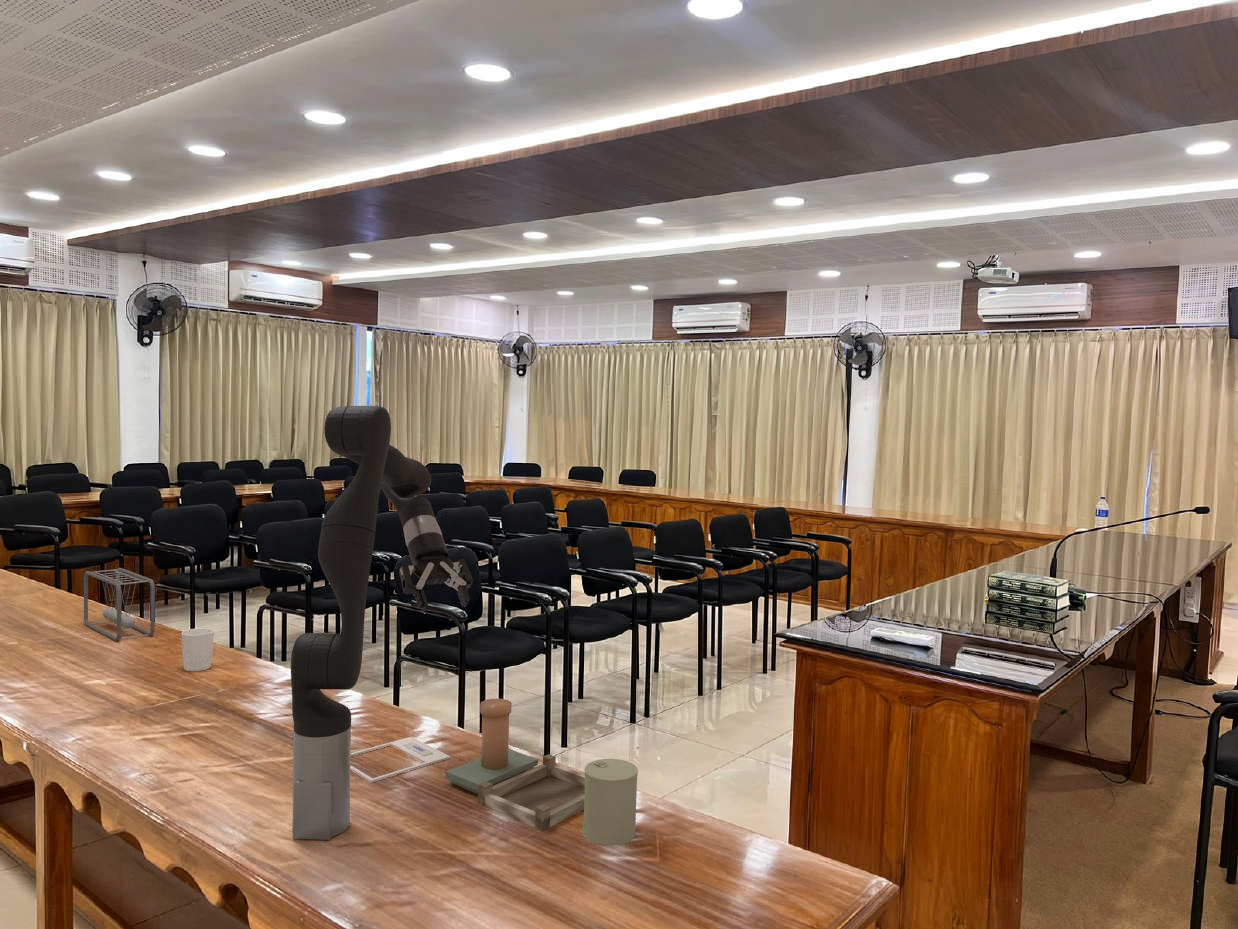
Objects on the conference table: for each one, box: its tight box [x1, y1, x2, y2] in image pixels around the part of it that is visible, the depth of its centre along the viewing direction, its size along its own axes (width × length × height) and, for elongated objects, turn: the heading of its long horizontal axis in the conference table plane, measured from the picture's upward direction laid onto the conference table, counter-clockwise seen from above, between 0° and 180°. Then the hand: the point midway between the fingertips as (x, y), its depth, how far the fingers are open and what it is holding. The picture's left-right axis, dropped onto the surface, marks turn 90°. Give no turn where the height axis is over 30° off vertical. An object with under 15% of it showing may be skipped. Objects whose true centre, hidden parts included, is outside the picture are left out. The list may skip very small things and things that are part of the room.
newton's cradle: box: [83, 567, 156, 643], centre depth 270 cm, size 30×10×18 cm, turn 49°
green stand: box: [445, 748, 539, 795], centre depth 168 cm, size 9×16×3 cm, turn 142°
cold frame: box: [477, 754, 585, 832], centre depth 159 cm, size 16×19×4 cm
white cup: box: [181, 627, 215, 672], centre depth 234 cm, size 8×8×10 cm
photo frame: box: [350, 736, 451, 784], centre depth 176 cm, size 15×1×18 cm
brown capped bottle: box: [479, 698, 513, 770], centre depth 168 cm, size 6×6×12 cm
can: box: [582, 758, 639, 846], centre depth 147 cm, size 9×9×12 cm
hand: (445, 606), depth 172 cm, fingers open, 8 cm apart
